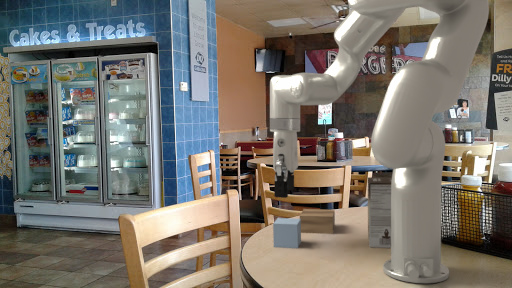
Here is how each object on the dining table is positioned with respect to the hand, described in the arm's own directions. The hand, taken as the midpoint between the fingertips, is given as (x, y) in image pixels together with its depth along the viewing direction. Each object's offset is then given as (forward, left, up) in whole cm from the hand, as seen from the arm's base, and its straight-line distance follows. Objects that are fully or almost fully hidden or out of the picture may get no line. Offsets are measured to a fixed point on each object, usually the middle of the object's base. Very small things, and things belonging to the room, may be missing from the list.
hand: (284, 193), depth 114 cm
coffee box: (+5, -24, -13) cm, 27 cm away
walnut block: (+16, -7, -13) cm, 21 cm away
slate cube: (0, -1, -13) cm, 13 cm away
